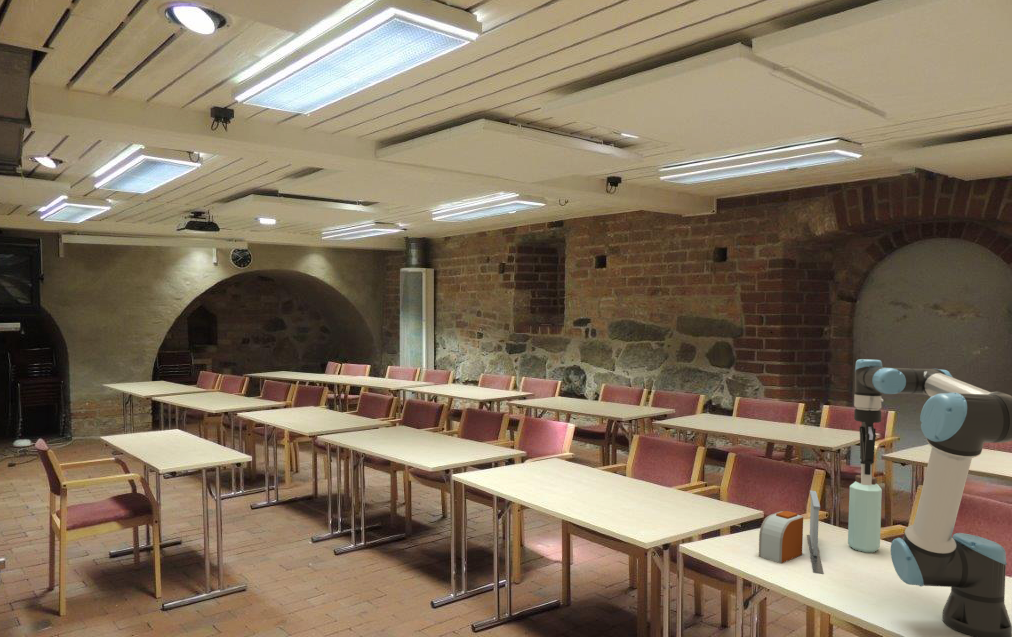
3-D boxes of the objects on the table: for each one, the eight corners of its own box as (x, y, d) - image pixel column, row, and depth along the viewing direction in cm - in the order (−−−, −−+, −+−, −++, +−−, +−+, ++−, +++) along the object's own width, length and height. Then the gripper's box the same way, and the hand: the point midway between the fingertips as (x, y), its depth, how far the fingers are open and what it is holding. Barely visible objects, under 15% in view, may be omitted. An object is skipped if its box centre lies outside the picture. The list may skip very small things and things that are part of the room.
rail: (823, 573, 218) (823, 573, 218) (813, 572, 219) (813, 571, 219) (815, 536, 255) (815, 535, 255) (806, 535, 256) (806, 534, 256)
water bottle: (841, 545, 246) (843, 474, 245) (860, 542, 250) (863, 472, 249) (866, 555, 236) (868, 481, 236) (886, 551, 241) (888, 479, 240)
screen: (818, 556, 232) (820, 506, 232) (812, 555, 233) (813, 506, 233) (814, 536, 253) (815, 491, 253) (808, 535, 254) (809, 490, 253)
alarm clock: (780, 547, 243) (781, 508, 243) (804, 554, 236) (805, 514, 236) (757, 555, 233) (758, 515, 233) (781, 563, 227) (782, 521, 226)
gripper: (885, 411, 211) (884, 490, 211) (877, 407, 224) (875, 481, 223) (858, 410, 213) (856, 487, 213) (851, 405, 226) (849, 479, 226)
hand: (866, 484), depth 218 cm, fingers closed
